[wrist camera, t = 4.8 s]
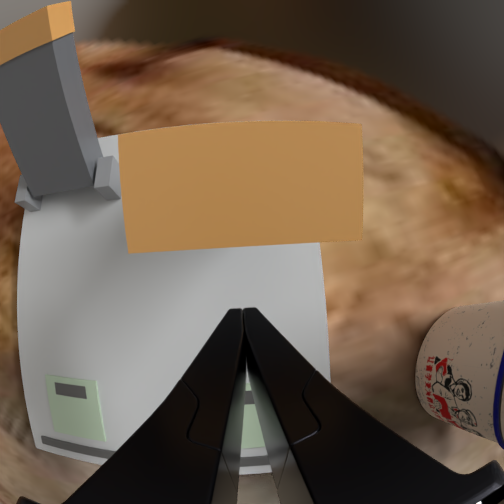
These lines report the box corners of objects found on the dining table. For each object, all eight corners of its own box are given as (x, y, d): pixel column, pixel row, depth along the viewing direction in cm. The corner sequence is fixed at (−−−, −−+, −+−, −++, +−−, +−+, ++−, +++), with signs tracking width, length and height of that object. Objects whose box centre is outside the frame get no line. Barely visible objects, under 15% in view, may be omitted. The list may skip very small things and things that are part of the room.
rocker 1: (95, 186, 16) (46, 6, 7) (31, 197, 15) (-25, 46, 7) (107, 162, 17) (70, 0, 9) (46, 174, 17) (2, 33, 9)
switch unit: (325, 454, 16) (341, 477, 12) (46, 442, 15) (21, 456, 11) (297, 132, 20) (306, 102, 17) (45, 161, 19) (23, 140, 16)
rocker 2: (282, 194, 17) (362, 240, 6) (192, 199, 17) (128, 253, 6) (280, 150, 17) (361, 124, 6) (189, 155, 16) (117, 134, 6)
